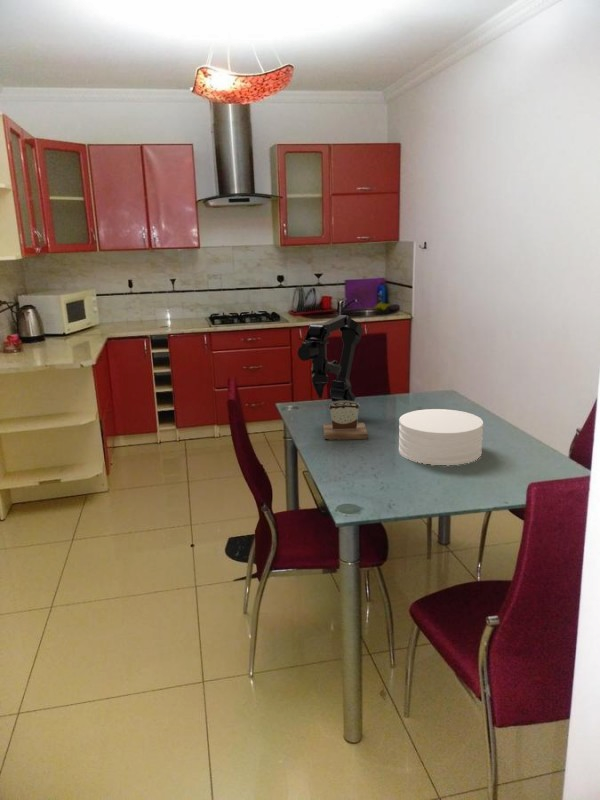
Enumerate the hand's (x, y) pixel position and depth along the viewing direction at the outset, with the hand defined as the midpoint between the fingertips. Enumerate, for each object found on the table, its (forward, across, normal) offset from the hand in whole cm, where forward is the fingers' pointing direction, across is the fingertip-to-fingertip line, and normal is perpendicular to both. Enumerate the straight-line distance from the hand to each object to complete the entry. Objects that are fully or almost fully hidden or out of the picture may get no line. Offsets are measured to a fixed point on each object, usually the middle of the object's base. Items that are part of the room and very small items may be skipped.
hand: (320, 395), depth 235 cm
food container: (+11, -8, -9) cm, 16 cm away
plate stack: (+13, -32, -40) cm, 53 cm away
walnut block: (+13, -10, -9) cm, 19 cm away
